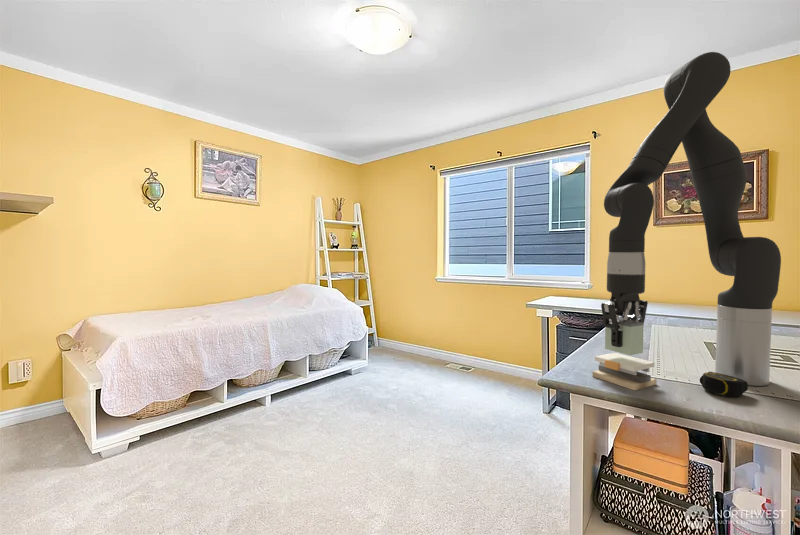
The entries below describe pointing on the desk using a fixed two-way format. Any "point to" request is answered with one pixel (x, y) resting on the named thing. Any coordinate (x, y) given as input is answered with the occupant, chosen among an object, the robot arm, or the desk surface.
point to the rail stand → (624, 378)
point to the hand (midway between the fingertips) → (623, 344)
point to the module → (627, 338)
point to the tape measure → (723, 384)
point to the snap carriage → (624, 363)
